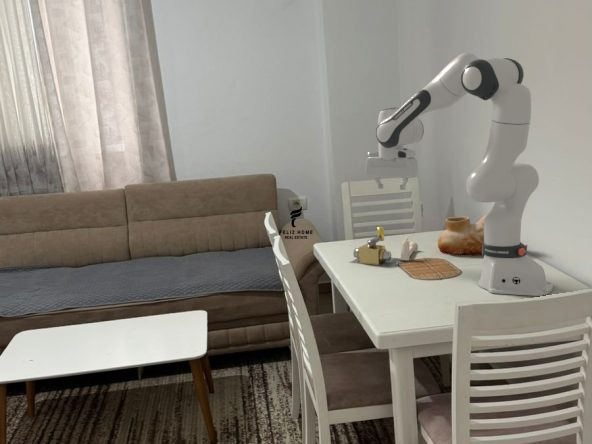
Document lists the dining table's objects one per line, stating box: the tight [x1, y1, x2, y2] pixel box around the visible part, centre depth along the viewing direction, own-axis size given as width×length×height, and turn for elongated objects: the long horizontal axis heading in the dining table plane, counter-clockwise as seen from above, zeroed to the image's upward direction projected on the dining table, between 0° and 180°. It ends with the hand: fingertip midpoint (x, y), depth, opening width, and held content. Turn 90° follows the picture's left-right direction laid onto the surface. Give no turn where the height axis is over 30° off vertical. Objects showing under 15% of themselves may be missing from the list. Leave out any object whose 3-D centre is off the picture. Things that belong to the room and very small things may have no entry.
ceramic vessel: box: [437, 213, 488, 257], centre depth 240 cm, size 14×26×15 cm, turn 81°
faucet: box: [400, 235, 419, 262], centre depth 240 cm, size 4×18×10 cm, turn 158°
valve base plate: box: [349, 257, 401, 268], centre depth 235 cm, size 16×12×1 cm
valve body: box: [353, 243, 392, 266], centre depth 233 cm, size 14×6×6 cm, turn 57°
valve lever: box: [367, 226, 385, 247], centre depth 235 cm, size 11×3×6 cm, turn 147°
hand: (391, 189), depth 232 cm, fingers open, 8 cm apart
